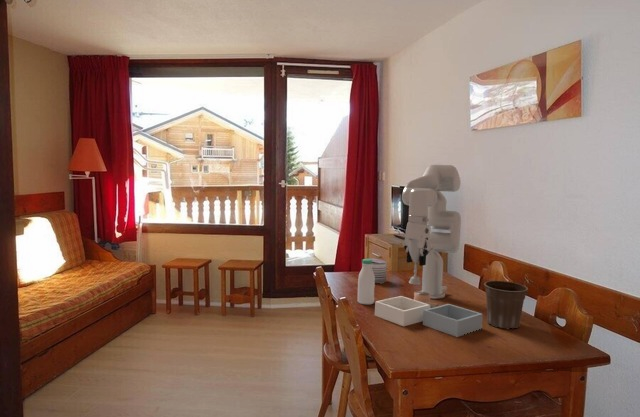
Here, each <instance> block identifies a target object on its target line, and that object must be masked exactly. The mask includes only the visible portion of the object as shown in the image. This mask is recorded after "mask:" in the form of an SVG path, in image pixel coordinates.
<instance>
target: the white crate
mask: <svg viewBox="0 0 640 417" xmlns="http://www.w3.org/2000/svg"><path fill="white" fill-rule="evenodd" d="M374 304H375V305H374V317H378V318H380V319H382V320H385V321H388V322H390V323H393V324H396V325H399V326H401V327H406V326H410V325H414V324H417V323H421V322H423V311H424V310H426V309H430V305H429V304H426V303H423V302H419V301H416V300H414V298H413V299H412V298H410V297H406V296H403V295H399V296H395V297H389V298H384V299H381V300H376V301H375V300H374Z"/></svg>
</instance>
